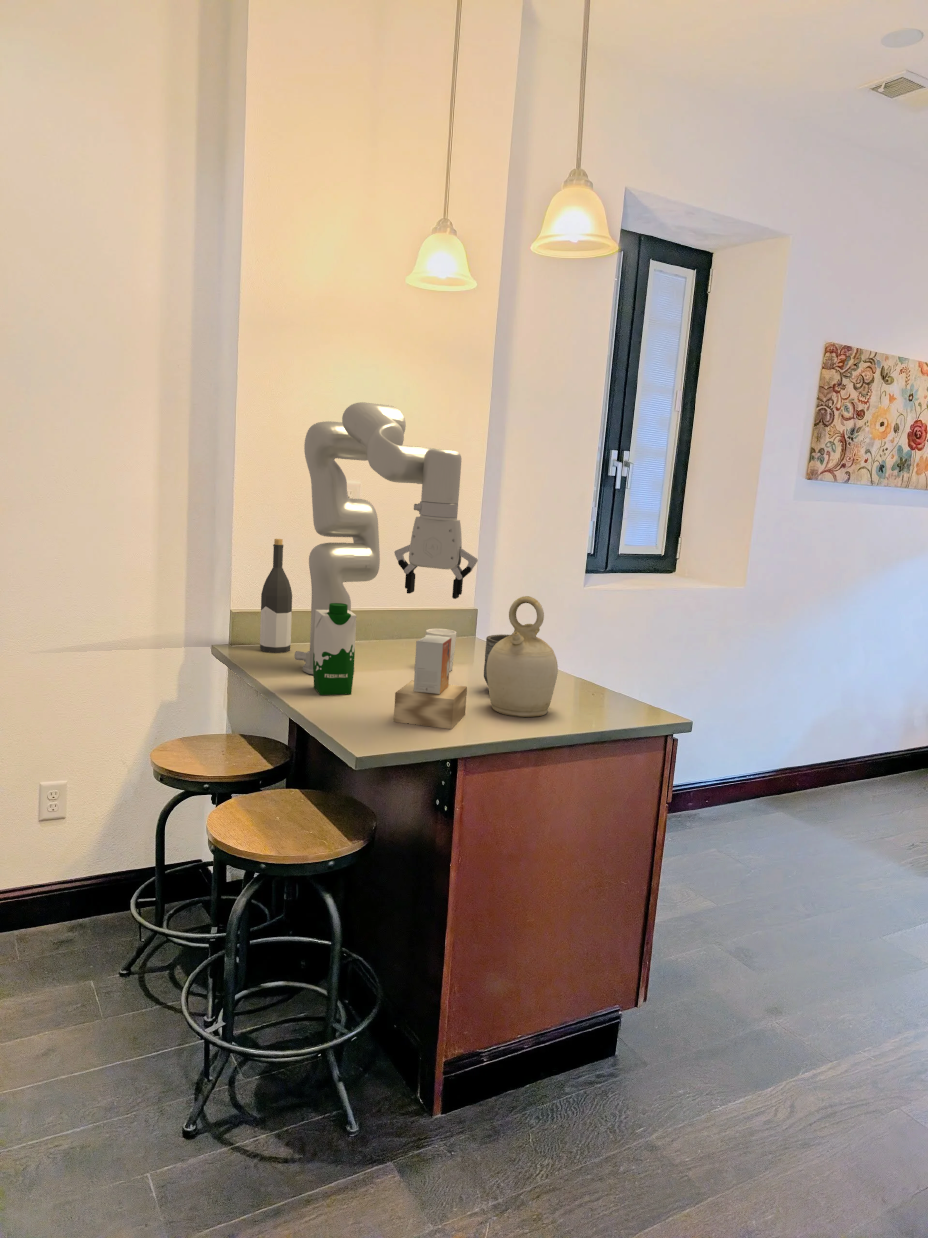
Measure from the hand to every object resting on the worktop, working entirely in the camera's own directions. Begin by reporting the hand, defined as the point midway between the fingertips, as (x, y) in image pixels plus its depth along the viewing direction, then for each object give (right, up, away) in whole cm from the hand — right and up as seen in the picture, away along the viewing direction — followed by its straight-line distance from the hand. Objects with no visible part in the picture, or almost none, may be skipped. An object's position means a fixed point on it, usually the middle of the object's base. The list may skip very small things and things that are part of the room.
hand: (432, 595), depth 181 cm
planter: (+17, -22, +27) cm, 39 cm away
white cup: (0, -18, +47) cm, 50 cm away
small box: (0, -19, 0) cm, 19 cm away
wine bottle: (-45, -13, +57) cm, 74 cm away
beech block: (-1, -25, 0) cm, 25 cm away
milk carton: (-23, -21, +17) cm, 36 cm away
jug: (+18, -25, +11) cm, 33 cm away
